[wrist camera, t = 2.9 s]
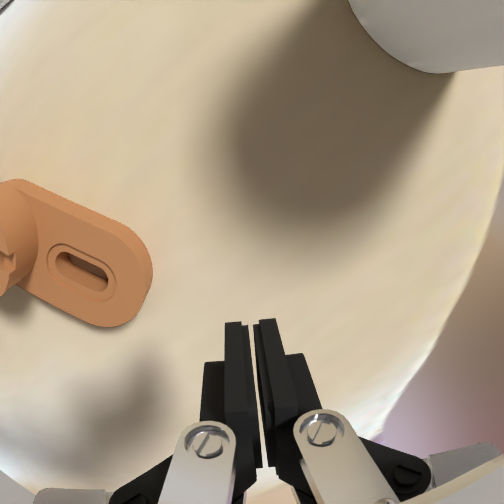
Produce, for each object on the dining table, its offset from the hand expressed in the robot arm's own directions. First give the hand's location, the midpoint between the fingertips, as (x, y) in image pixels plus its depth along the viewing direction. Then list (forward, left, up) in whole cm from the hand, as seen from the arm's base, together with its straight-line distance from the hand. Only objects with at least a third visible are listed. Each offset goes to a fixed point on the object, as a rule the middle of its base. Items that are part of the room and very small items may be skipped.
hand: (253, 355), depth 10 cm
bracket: (-1, -15, -14) cm, 21 cm away
